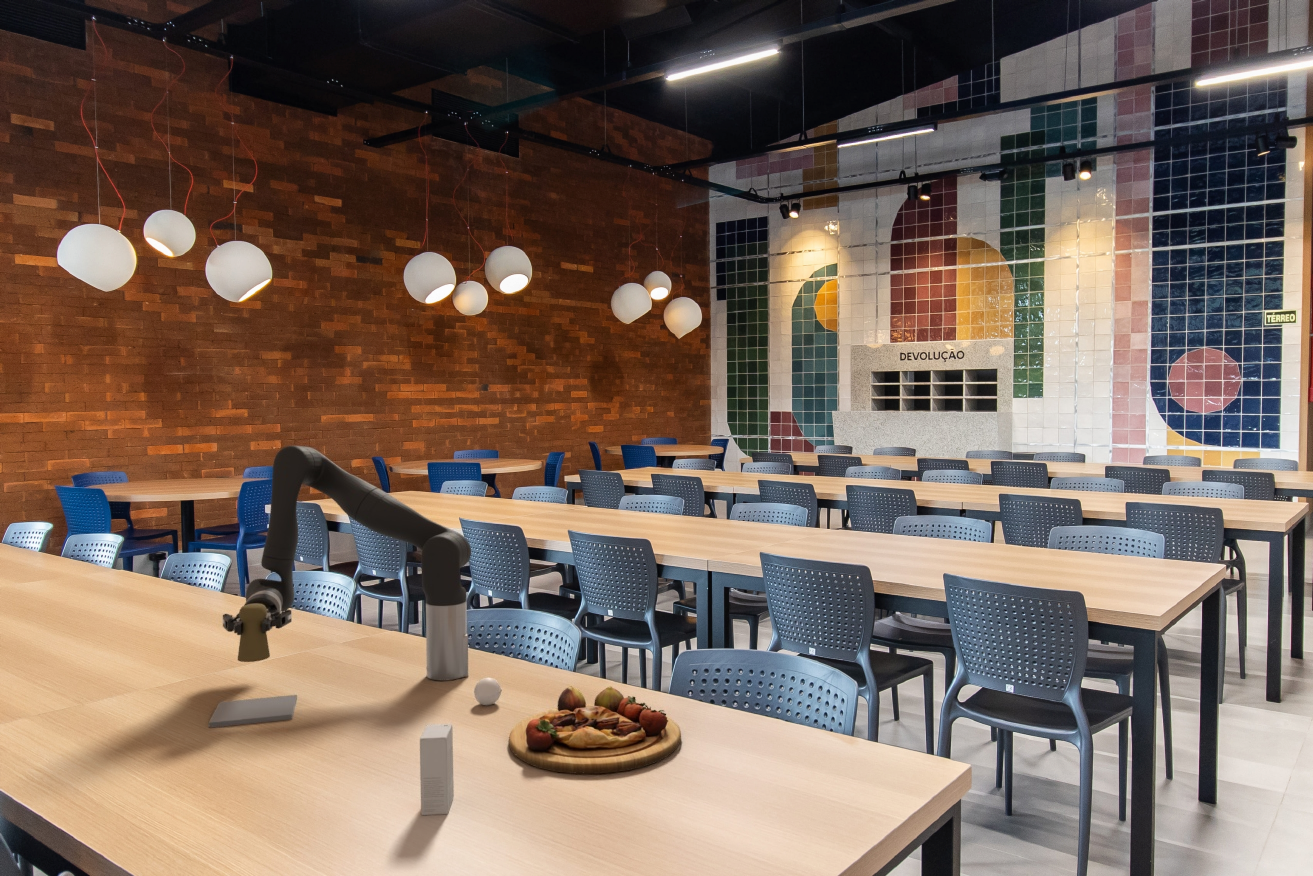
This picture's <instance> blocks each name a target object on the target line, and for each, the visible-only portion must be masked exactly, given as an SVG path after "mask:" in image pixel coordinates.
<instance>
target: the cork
mask: <svg viewBox="0 0 1313 876" xmlns="http://www.w3.org/2000/svg"><path fill="white" fill-rule="evenodd" d="M238 613H239V617H240V619H241V620H242V634H241V635H239V645H238V653H237V654H238V655H237V661H238V662H242V663H243V662H244V663H253V662H254V663H255V662H259V661H264V660H267V659H269V658H270V656H271V654H270V648H269V647H270V646H269V640H268V634H267V632H266V633H262V622H263V620H264V619H265V617H266V615H267V608H266V607H265V605H263V604H258V603H254V604H248V605H245V604H243V606H242V607H240V609H239V612H238Z"/></svg>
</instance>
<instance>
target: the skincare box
mask: <svg viewBox="0 0 1313 876" xmlns="http://www.w3.org/2000/svg"><path fill="white" fill-rule="evenodd" d="M453 732H454V731H453V724H452V723H445V724H444V723H442V724H439V723H438V724H427V725H426V724H425V727H424V729H423V732H422V733H421V736H420V738H419V765H420V766H419V768H420V769H419V770H420V771H419V774H420V775H419V777H420V813H421V814H420V815H422V816H433V815H435V816H437V815H448V814H449V811H450V809H451V806H452V803H453V801H454V797H455V796H454V795H455V794H454V793H455V792H454V791H455V790H454V787H455V786H454V785H455V784H454V748H453V747H454V746H453V745H454V741H453V740H454V738H453Z"/></svg>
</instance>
